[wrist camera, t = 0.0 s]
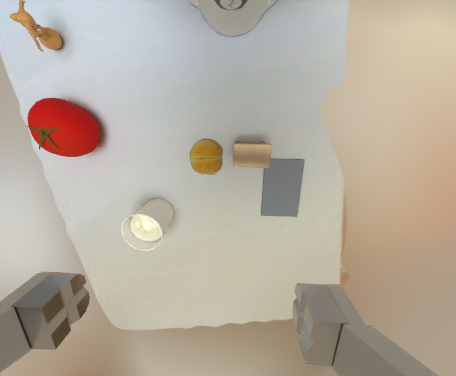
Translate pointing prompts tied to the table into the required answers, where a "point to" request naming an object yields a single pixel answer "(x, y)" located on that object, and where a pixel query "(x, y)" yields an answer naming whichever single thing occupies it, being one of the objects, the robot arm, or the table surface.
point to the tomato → (63, 127)
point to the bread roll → (206, 157)
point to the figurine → (44, 34)
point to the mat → (282, 187)
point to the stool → (251, 155)
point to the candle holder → (147, 225)
